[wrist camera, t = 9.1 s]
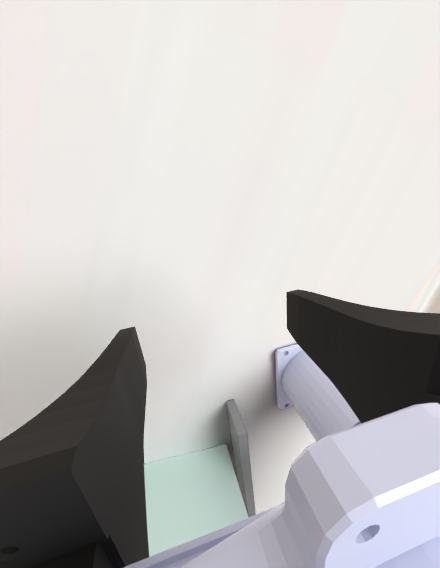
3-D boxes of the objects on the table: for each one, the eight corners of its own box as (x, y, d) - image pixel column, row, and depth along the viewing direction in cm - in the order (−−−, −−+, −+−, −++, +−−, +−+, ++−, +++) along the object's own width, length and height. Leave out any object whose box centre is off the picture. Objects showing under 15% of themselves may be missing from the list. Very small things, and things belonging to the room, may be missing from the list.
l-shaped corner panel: (126, 537, 31) (120, 638, 24) (111, 470, 26) (100, 570, 20) (224, 508, 34) (243, 590, 27) (225, 442, 29) (249, 521, 22)
